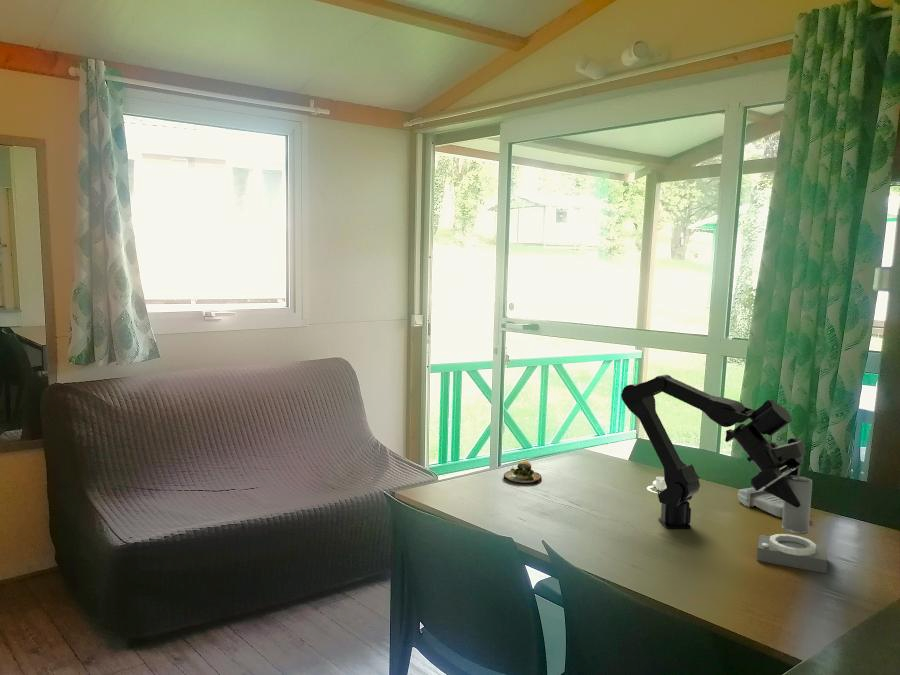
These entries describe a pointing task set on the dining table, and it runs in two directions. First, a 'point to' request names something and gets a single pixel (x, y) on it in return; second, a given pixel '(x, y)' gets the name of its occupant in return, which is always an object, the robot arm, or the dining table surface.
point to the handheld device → (761, 500)
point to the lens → (798, 517)
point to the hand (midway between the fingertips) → (803, 503)
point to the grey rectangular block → (792, 552)
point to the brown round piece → (523, 473)
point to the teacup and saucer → (658, 484)
